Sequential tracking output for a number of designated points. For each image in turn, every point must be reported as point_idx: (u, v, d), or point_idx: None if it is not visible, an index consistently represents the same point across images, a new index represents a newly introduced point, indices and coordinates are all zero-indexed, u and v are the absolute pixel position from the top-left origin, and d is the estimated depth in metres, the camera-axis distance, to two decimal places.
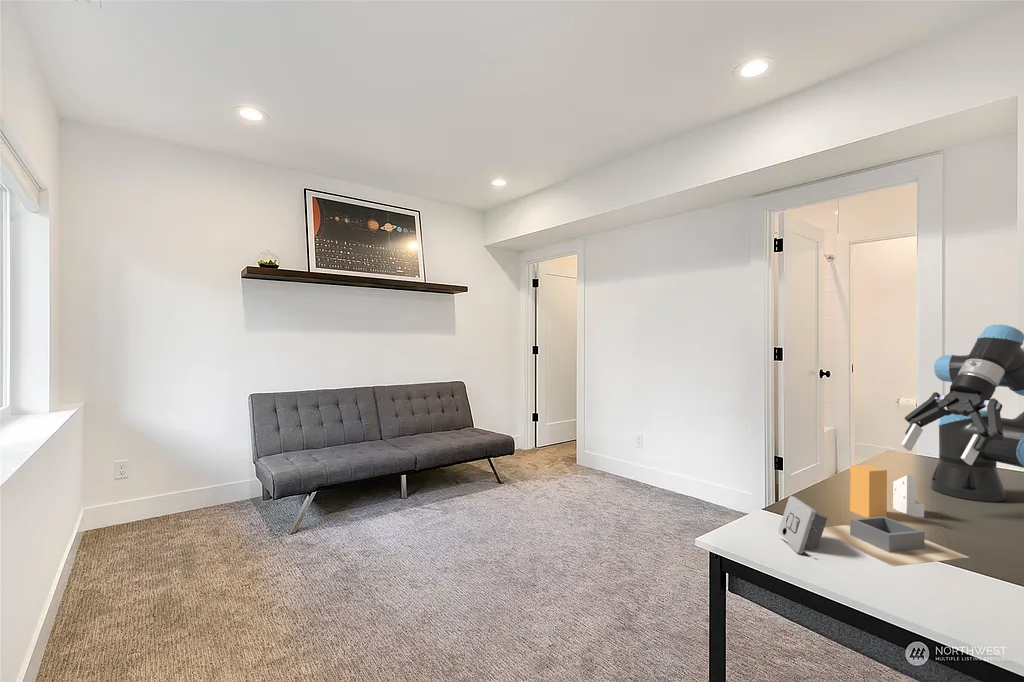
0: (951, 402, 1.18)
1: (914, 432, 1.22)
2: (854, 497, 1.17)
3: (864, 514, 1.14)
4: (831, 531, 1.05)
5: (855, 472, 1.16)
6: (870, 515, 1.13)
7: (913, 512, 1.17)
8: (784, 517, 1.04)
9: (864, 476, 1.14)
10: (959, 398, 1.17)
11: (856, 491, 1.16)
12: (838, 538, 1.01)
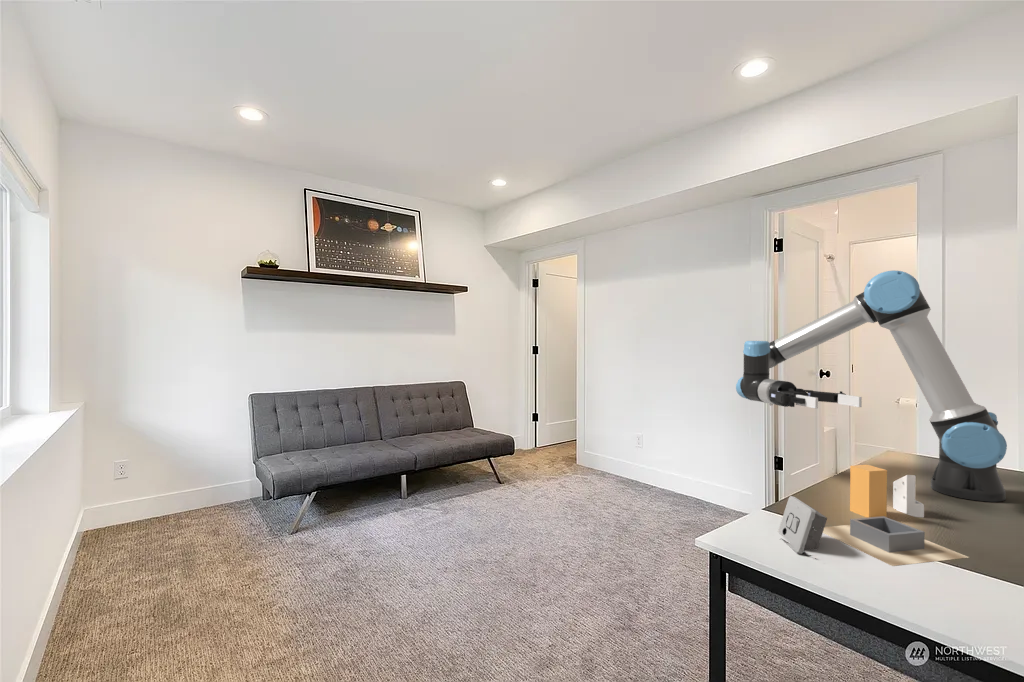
0: None
1: (844, 401, 1.32)
2: (854, 497, 1.17)
3: (864, 514, 1.14)
4: (831, 531, 1.05)
5: (855, 472, 1.16)
6: (870, 515, 1.13)
7: (913, 512, 1.17)
8: (784, 517, 1.04)
9: (864, 476, 1.14)
10: None
11: (856, 491, 1.16)
12: (838, 538, 1.01)
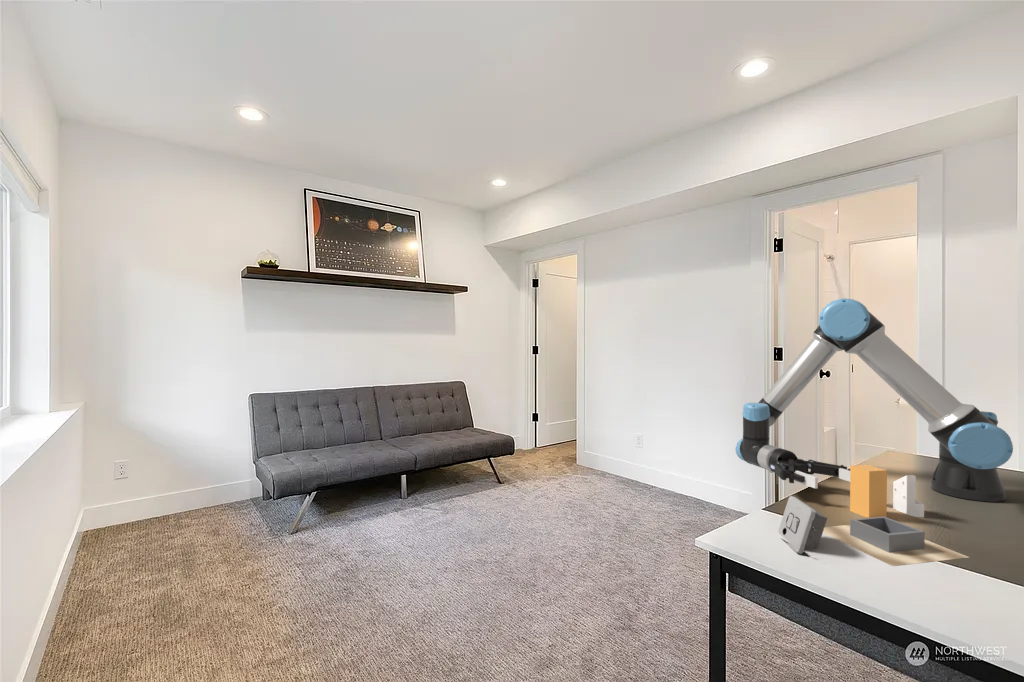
0: None
1: (845, 477, 1.29)
2: (854, 497, 1.17)
3: (864, 514, 1.14)
4: (831, 531, 1.05)
5: (855, 472, 1.16)
6: (870, 515, 1.13)
7: (913, 512, 1.17)
8: (784, 517, 1.04)
9: (864, 476, 1.14)
10: None
11: (856, 491, 1.16)
12: (838, 538, 1.01)
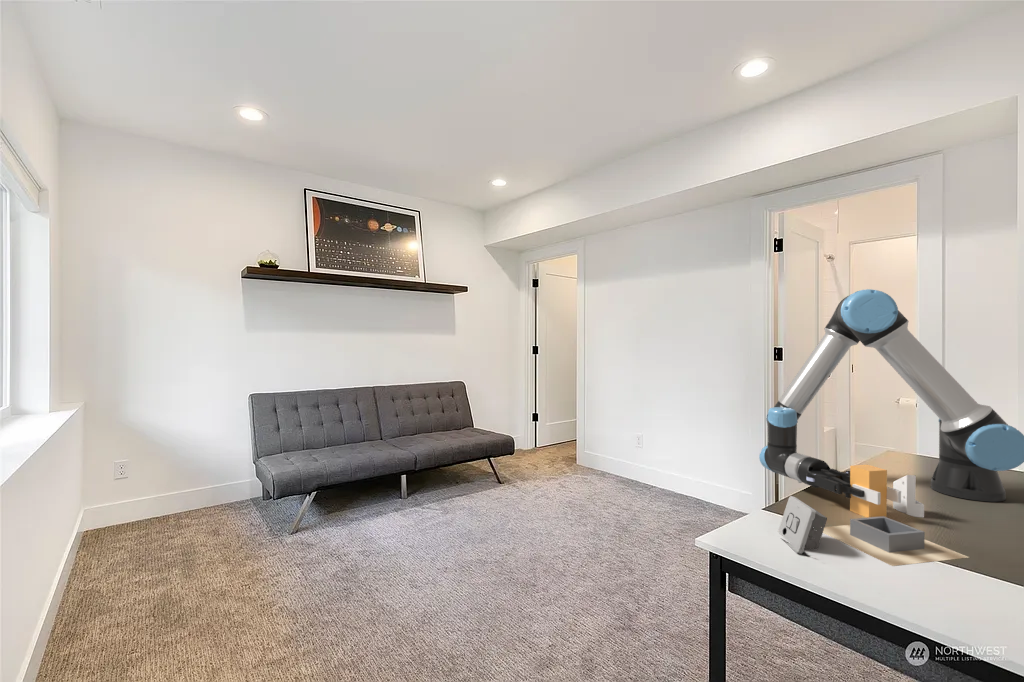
0: None
1: None
2: (854, 497, 1.17)
3: (864, 514, 1.14)
4: (831, 531, 1.05)
5: (855, 472, 1.16)
6: (870, 515, 1.13)
7: (913, 512, 1.17)
8: (784, 517, 1.04)
9: (864, 476, 1.14)
10: None
11: None
12: (838, 538, 1.01)
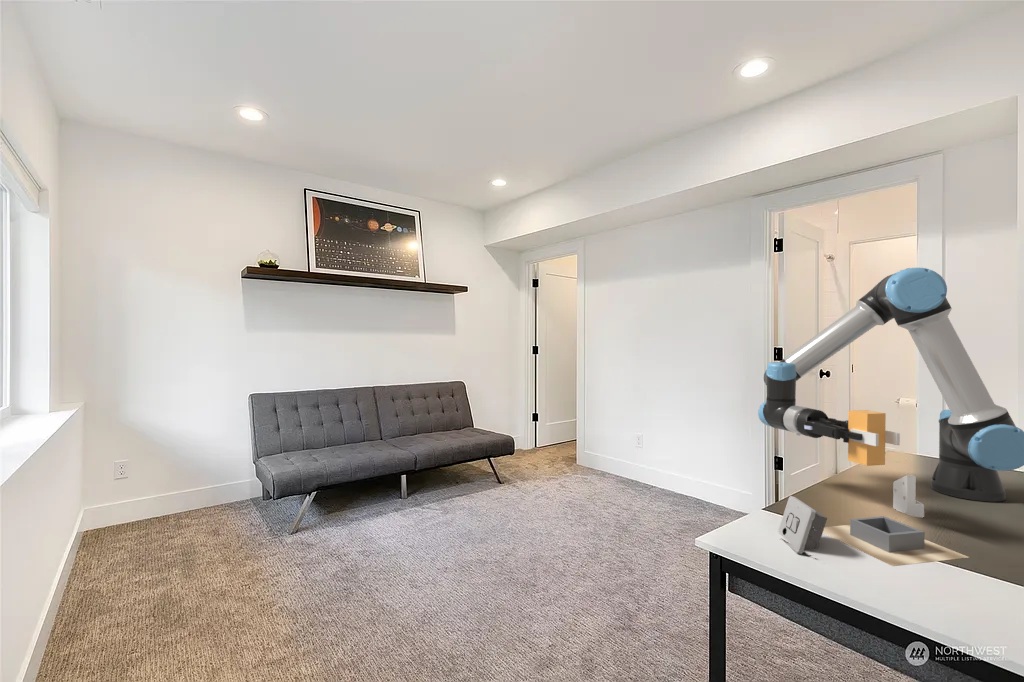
0: None
1: None
2: (852, 442, 1.15)
3: (862, 458, 1.12)
4: (831, 531, 1.05)
5: (853, 416, 1.15)
6: (868, 459, 1.12)
7: (913, 512, 1.17)
8: (784, 517, 1.04)
9: (863, 419, 1.12)
10: None
11: None
12: (838, 538, 1.01)
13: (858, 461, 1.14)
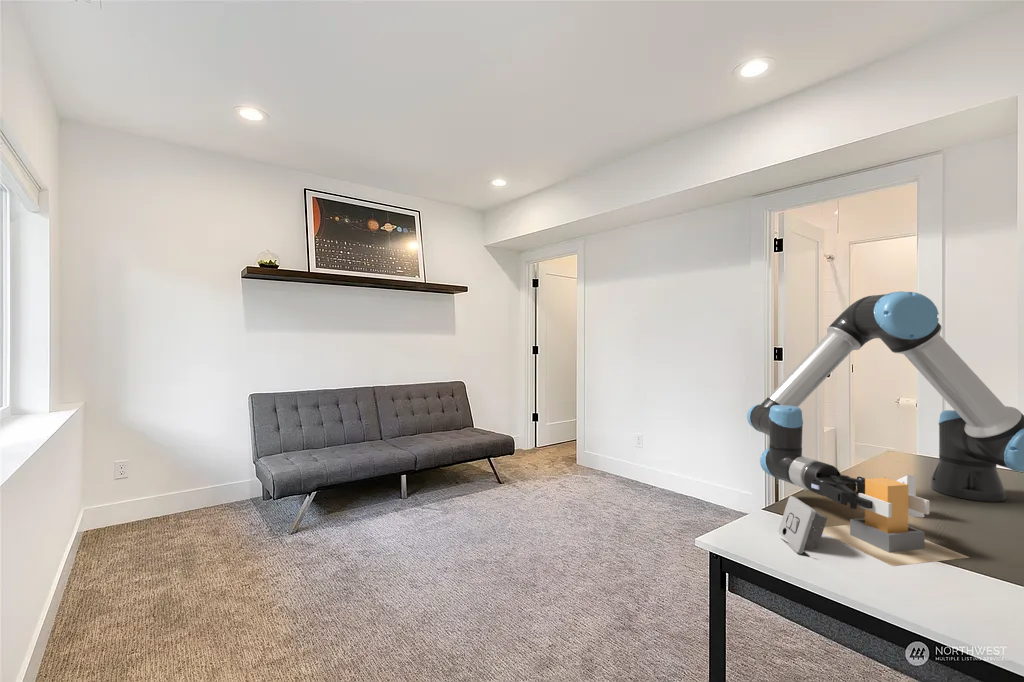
0: None
1: None
2: (870, 515, 1.01)
3: None
4: (831, 531, 1.05)
5: (871, 486, 1.00)
6: None
7: (913, 512, 1.17)
8: (784, 517, 1.04)
9: (882, 491, 0.98)
10: None
11: None
12: (838, 538, 1.01)
13: None
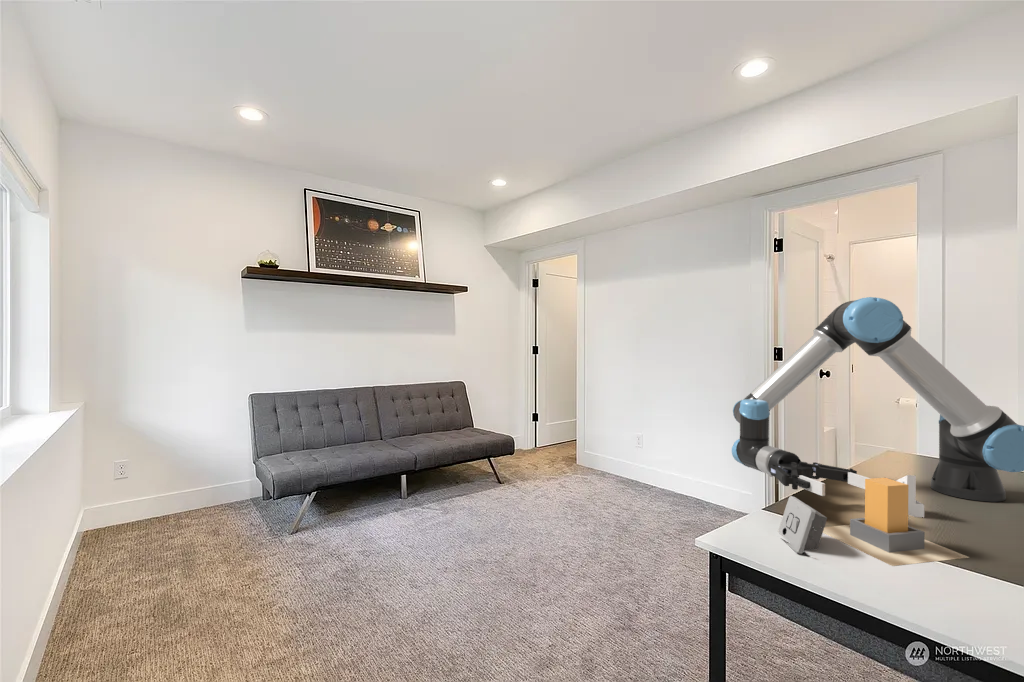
0: None
1: (855, 482, 1.14)
2: (870, 515, 1.01)
3: None
4: (831, 531, 1.05)
5: (871, 486, 1.00)
6: None
7: (913, 512, 1.17)
8: (784, 517, 1.04)
9: (882, 491, 0.98)
10: None
11: (872, 508, 1.00)
12: (838, 538, 1.01)
13: None
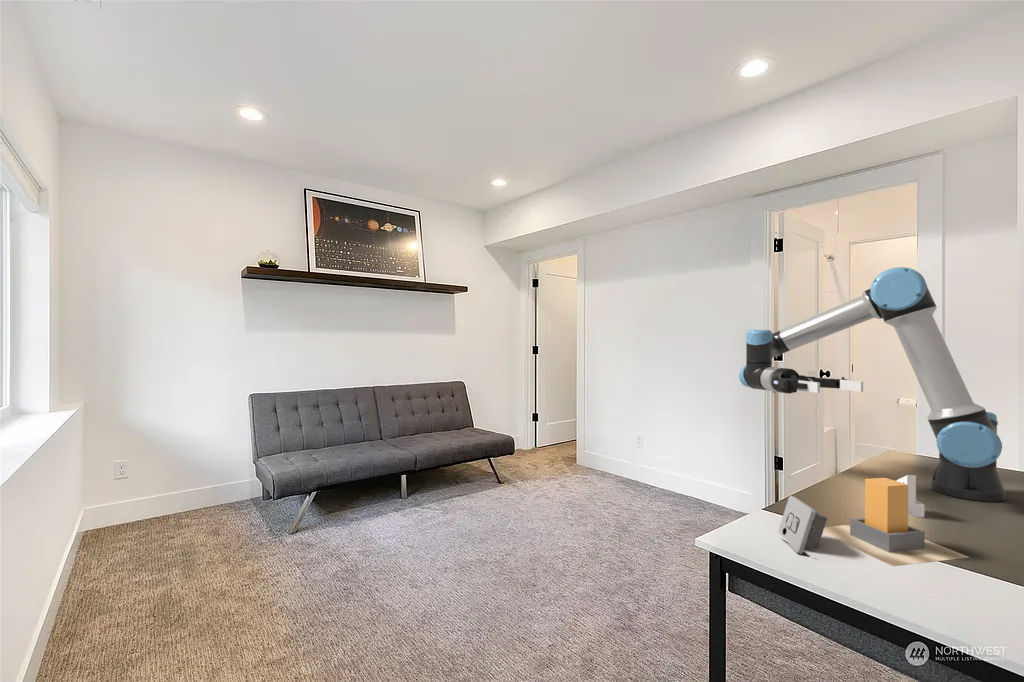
0: None
1: (846, 387, 1.33)
2: (870, 515, 1.01)
3: None
4: (831, 531, 1.05)
5: (871, 486, 1.00)
6: None
7: (913, 512, 1.16)
8: (784, 517, 1.04)
9: (882, 491, 0.98)
10: None
11: (872, 508, 1.00)
12: (838, 538, 1.01)
13: None
